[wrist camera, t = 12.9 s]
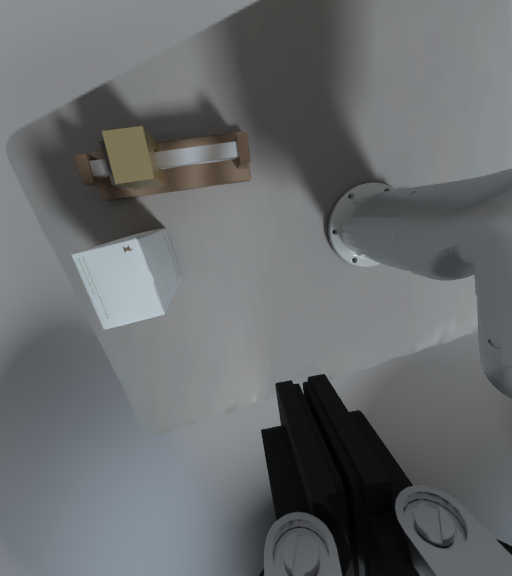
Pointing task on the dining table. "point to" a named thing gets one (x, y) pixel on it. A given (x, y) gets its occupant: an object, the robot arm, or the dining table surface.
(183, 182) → the rod stand
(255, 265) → the dining table surface
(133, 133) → the yellow rectangular block
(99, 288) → the skincare box
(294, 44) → the dining table surface
